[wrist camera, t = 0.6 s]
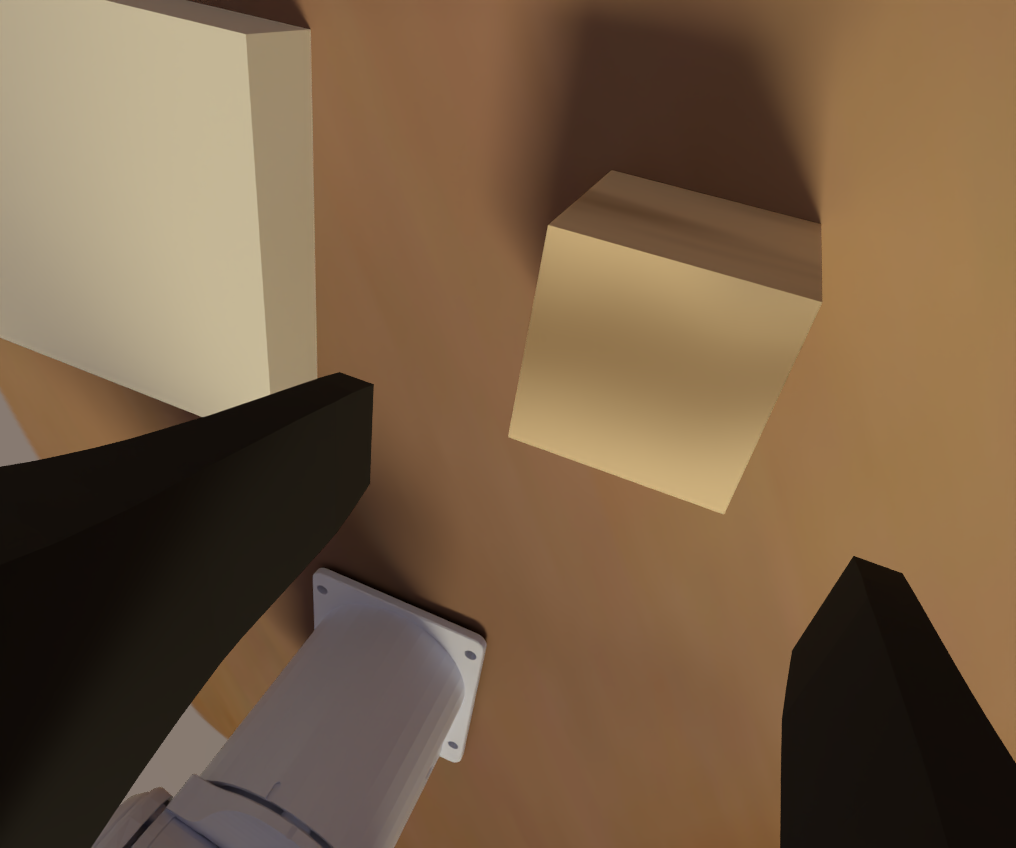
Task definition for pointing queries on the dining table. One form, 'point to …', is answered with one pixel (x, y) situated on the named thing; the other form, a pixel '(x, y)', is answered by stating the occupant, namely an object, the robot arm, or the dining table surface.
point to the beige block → (159, 196)
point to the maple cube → (665, 334)
